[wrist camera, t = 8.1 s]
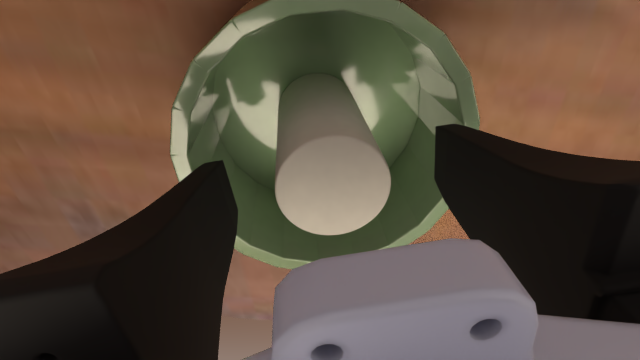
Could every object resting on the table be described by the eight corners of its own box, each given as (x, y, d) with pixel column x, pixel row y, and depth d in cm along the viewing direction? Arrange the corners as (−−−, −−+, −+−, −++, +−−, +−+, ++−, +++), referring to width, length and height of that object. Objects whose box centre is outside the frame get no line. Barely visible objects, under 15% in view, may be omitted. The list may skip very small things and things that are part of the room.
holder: (467, 114, 19) (528, 165, 14) (308, 232, 22) (314, 307, 17) (331, -86, 14) (354, -111, 9) (152, 100, 17) (102, 153, 12)
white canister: (370, 113, 18) (414, 191, 12) (313, 159, 19) (326, 253, 13) (320, 55, 16) (342, 110, 10) (262, 109, 17) (249, 188, 11)
